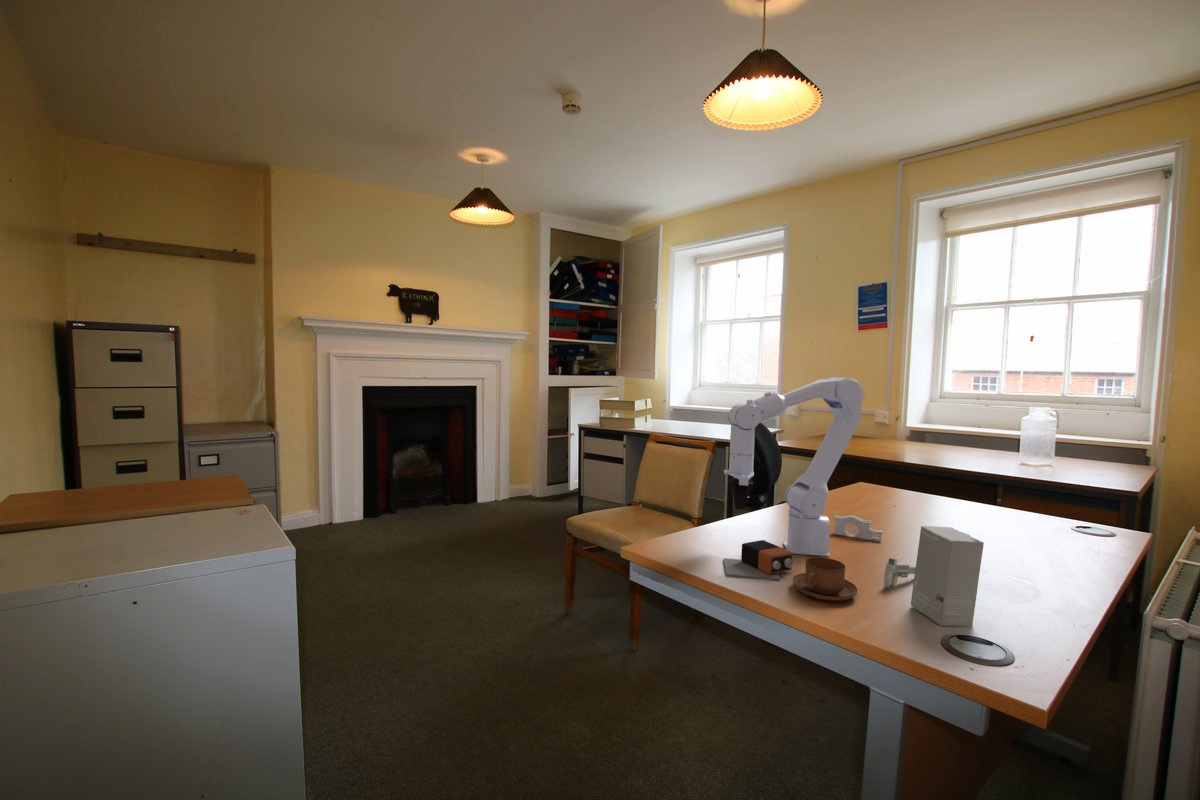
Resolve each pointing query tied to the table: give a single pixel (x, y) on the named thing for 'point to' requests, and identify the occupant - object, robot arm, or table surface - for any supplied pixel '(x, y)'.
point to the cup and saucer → (825, 580)
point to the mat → (746, 570)
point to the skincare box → (947, 575)
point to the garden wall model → (862, 525)
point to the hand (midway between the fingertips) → (739, 508)
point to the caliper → (896, 572)
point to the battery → (766, 557)
